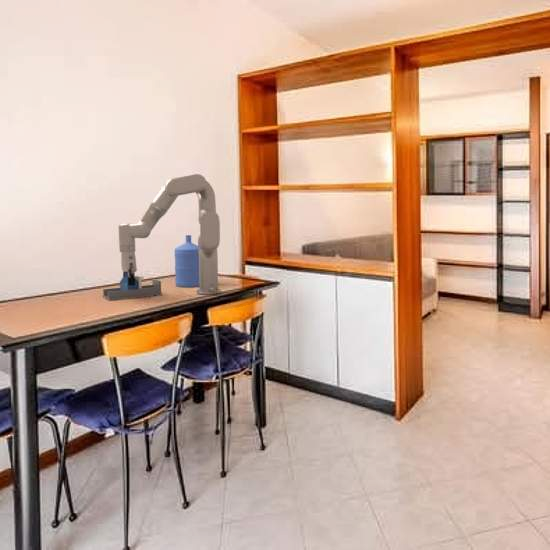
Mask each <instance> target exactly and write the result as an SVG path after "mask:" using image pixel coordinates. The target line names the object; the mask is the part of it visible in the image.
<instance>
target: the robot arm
mask: <svg viewBox="0 0 550 550" xmlns="http://www.w3.org/2000/svg"><path fill="white" fill-rule="evenodd" d="M188 194H189V195H191V194H196V196H197V199H198V200H197V201H198V223H199V227H200V231H199V232H200V234H199V235H198V239H197V246H198V250H199V286H198V287H199V289H197V290H196V294H198V293H199V295H214V294H213V293H218V294H220V293H219V292H221V293H222V289H220V288H219V268H218V267H219V263H218V262H219V259H218V258H219V257H218V255H219V254H218V248H219V246H220V242H221V241H220V239H221V235H220V234H221V230H220V229H221V228H220V227H221V226H220V225H221V223H220V216H219V214H218V213H217V205H216V194H215V191H214V189H213V187H212V185H211V184H210V182H209V181H207V180H206V178H205V176H203V175H202V174H199V173H196V174H190V175H189V174H188V175H186V176H185V175H183V176H179V177H174V178H170V179H168V180H167V181H166V182H165V183H164V184H163V186H162V187H161V189H160V190H159V192H158V193H157V194H156V196H155V197H154V199H153V200H152V201H151V203H150V204H149V206H148V208H147V210H146V211H145V212H144V214H143V216H142V217H141V218H140V220H139V221H138V223H120V224H119V225H118V242H119V243H118V244H119V245H118V246H119V253H121V255H120V258H121V260H120V262H121V263H120V264H121V270H122V278H123V277H126V275H125V273H126V272H128V276H129V277H128V285H129V286H131V285H135V274H136V272H137V271H138V269H137V268H138V267H137V260H136V259H137V258H136V254H135V252H136V251H137V250H136V239H147V238H149V236H150V235H151V232H152V231H153V229H154V227H155V226H156V225H157V223H158V222H159V221H160V220H161V219H162V218H163V217H164V216H165V215H166V214H167V213H168V211H169V209H170V208H171V207H172V205H173V204H174V203H175V201H176V199H177V198H178V197H179V196H182V195H188Z"/></svg>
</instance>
